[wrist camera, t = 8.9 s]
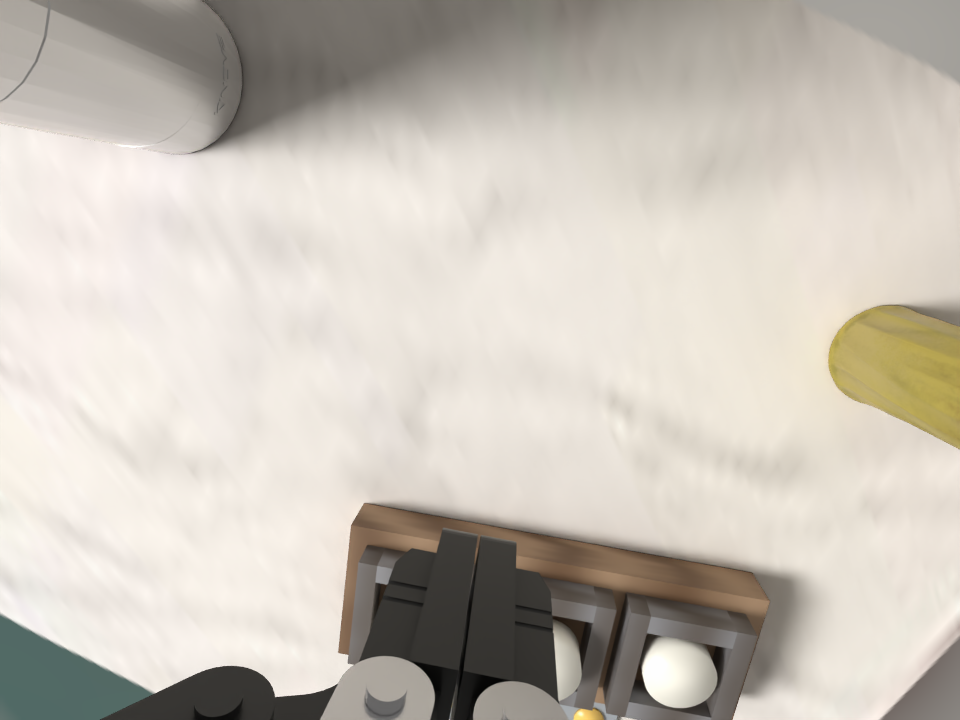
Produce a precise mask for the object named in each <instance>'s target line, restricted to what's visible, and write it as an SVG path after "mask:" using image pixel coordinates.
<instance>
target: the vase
mask: <svg viewBox="0 0 960 720" xmlns="http://www.w3.org/2000/svg"><path fill="white" fill-rule="evenodd" d="M828 363H829V370H830V373H831V376H832V378H833V380H834V382H835V384H836V386H837V387H838V388H839V389H840V390H841V391H842V392H843V393H844V394H845V395H847V396H848V397H850V398H852V399H853V400H855V401H858V402H860V403H864V404H868V405H871V406H873V407H876V408H878V409H880V410H882V411H884V412H886V413H888V414H890V415H892V416H894V417H896V418H899V419H901V420H903V421H905V422H908V423H910V424H912V425H913V426H915V427H917V428H919V429H921V430H923V431H925V432H927V433H929V434H931V435H933V436H935V437H937V438H939V439H941V440H943V441H944V442H946V443H948V444H950V445H952V446H954V447H956V448H958V449H960V327H959V326H956V325H953V324H950V323H947V322H945V321H942V320H939V319H936V318H932V317H929V316H925V315H922V314H919V313H917V312H915V311H913V310H911V309H909V308H906V307H902V306H879V307H875V308H872V309H869V310H866V311H864V312H862V313H860V314H858V315H856V316H854V317H853V318H851V319H850V320H849V321H848V322H847V323H846V324H845V325H844V326H843V327H842V328H841V329H840V330H839V331H838V333H837V334H836V336H835V338H834V340H833V342H832V344H831V347H830V351H829V359H828Z"/></svg>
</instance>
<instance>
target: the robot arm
mask: <svg viewBox="0 0 960 720" xmlns="http://www.w3.org/2000/svg"><path fill="white" fill-rule="evenodd" d="M241 90H242V68H241V63H240V58H239V54H238V50H237V47H236V45H235V43H234V40H233V38H232V36H231V34H230V31H229V30H228V29H227V27H226V26H225V24H224V23H223V21H222V20H221V18H220V17H219V16H218V15H217V14H216V13H215V12H214V11H213V10H212V9H211V8H210V7H209V6H208V5H207V4H206V3H204V2H203V1H201V0H0V124H4V125H10V126H16V127H21V128H27V129H32V130H38V131H44V132H49V133H55V134H60V135H66V136H72V137H77V138H83V139H89V140H94V141H100V142H105V143H111V144H117V145H121V146H126V147H132V148H138V149H144V150H150V151H156V152H162V153H168V154H188V153H192V152H195V151H198V150H201V149H204V148H205V147H207V146H209V145H210V144H212V143H213V142H215V141H216V140H217V139H218V138H219V137H220V136H221V135H222V134H223V133H224V132H225V131H226V130H227V128H228V127H229V125H230V123H231V122H232V120H233V118H234V117H235V114H236V111H237V108H238V105H239V103H240V98H241ZM477 539H478V534H473V533H468V532H463V531H458V530H452V529H447V528H443V529H442V533H441V537H440V541H439V545H438V549H437V553H434V552H429V551H424V550H419V549H414V548H411V549H410V550H409V551H408V552H407V553H405V554H404V555H403V556H402V557H401V558H399V559H398V560H397V561H396V562H395V565H394V568H393V570H392V573H391V576H390V578H389V582H388V584H387V587H386V589H385V592H384V595H383V599H382V600H381V603H380V606H379V608H378V611H377V614H376V617H375V619H374V622H373V625H372V627H371V630H370V633H369V636H368V638H367V641H366V644H365V647H364V649H363V652H362V655H361V657H360V660H359V662H358V663H357V664H355V665H353V666H352V667H351V668H350V669H348V670H347V671H346V672H345V674H344V675H343V676H342V678H341V679H340V681H339V683H338V684H336V685H335V686H333V687H331V688H328V689H326V690H324V691H320V692H316V693H312V694H305V695H295V696H284V697H275V694H274V691H273V688H272V686H271V684H270V683H269V681H268V680H267V679H266V678H265V677H264V676H263V675H261V674H260V673H258V672H256V671H254V670H252V669H249V668H245V667H239V666H222V667H216V668H212V669H208V670H205V671H202V672H200V673H197V674H195V675H193V676H191V677H189V678H187V679H185V680H182V681H180V682H178V683H176V684H174V685H172V686H170V687H168V688H166V689H164V690H161V691H159V692H157V693H155V694H153V695H151V696H149V697H147V698H145V699H143V700H140V701H139V702H136V703H134V704H132V705H130V706H128V707H126V708H124V709H122V710H120V711H117V712H115V713H113V714H111V715H109V716H107V717H105V718H103V719H100V720H449V718H450V720H568V718H567V715H566V713H565V712H564V710H563V709H562V707H561V706H560V705H559V700H558V687H557V673H556V659H555V645H554V633H553V616H552V602H551V591H550V590H549V588H548V586H547V585H546V583H545V582H544V580H543V578H542V577H541V575H540V573H538V572H533V571H528V570H523V569H518V568H516V552H517V543H516V542H515V541H510V540H505V539H500V538H495V537H489V536H484V535H481V537H480V542H479V547H478V552H477V557H476V563H475V568H474V573H473V567H474V560H475V553H476V546H477ZM472 574H473V578H472ZM471 581H472V583H471ZM470 588H471V589H470ZM451 707H452V709H451ZM450 713H451V716H450Z"/></svg>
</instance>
